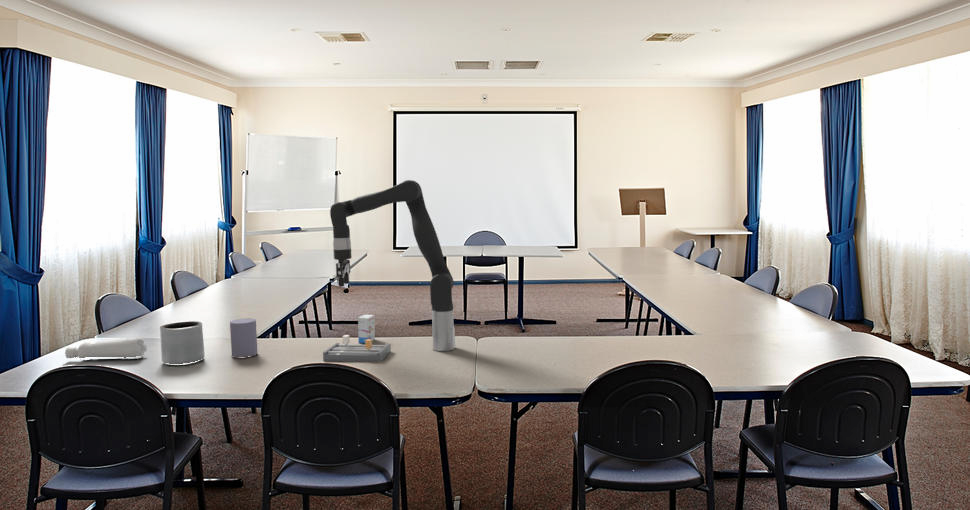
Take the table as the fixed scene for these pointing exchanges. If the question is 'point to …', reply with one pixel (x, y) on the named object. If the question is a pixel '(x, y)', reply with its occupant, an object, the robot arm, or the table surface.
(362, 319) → the ink box
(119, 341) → the bottle
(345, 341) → the fader rear
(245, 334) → the container
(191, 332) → the planter
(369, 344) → the fader front
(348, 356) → the console
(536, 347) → the table surface
